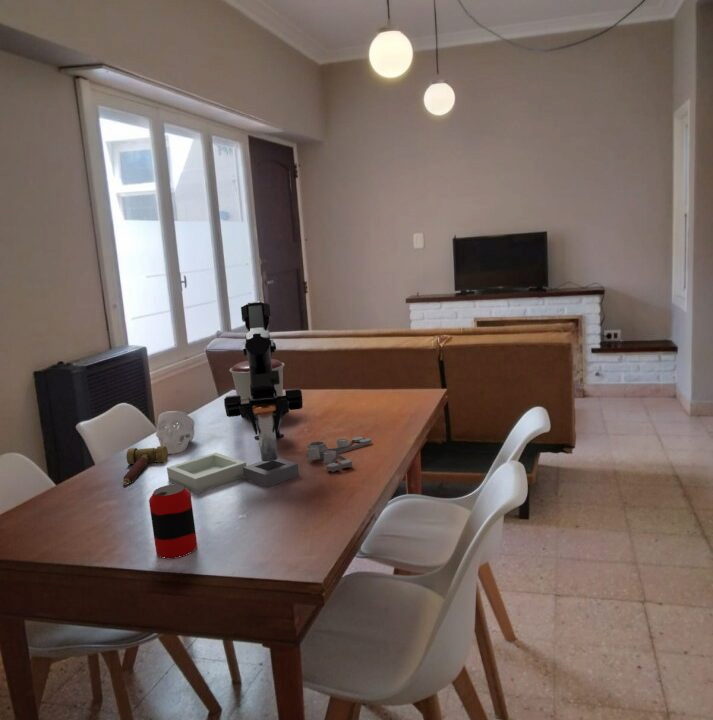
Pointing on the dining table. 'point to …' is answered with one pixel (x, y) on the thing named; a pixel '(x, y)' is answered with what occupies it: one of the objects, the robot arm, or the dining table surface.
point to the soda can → (172, 521)
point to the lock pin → (266, 431)
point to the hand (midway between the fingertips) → (266, 432)
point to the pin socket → (271, 472)
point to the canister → (243, 378)
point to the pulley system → (334, 452)
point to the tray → (206, 472)
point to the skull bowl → (175, 431)
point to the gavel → (143, 460)
